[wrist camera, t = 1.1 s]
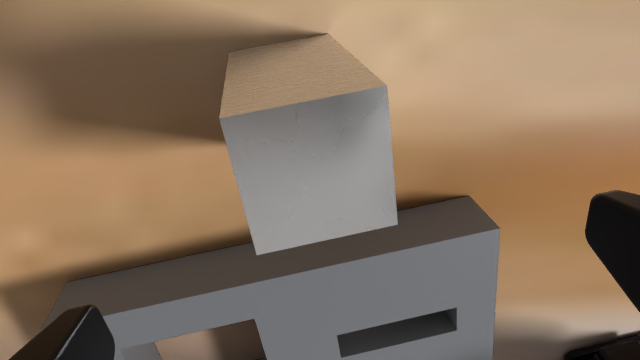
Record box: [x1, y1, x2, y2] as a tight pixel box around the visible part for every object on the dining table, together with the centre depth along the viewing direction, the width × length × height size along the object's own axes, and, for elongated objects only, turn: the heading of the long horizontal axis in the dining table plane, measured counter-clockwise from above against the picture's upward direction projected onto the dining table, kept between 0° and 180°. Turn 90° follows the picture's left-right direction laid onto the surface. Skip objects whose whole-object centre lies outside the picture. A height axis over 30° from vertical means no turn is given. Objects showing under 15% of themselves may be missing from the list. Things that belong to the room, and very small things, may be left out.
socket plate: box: [41, 196, 500, 360], centre depth 22 cm, size 10×20×3 cm, turn 99°
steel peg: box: [219, 34, 398, 255], centre depth 15 cm, size 4×4×8 cm
